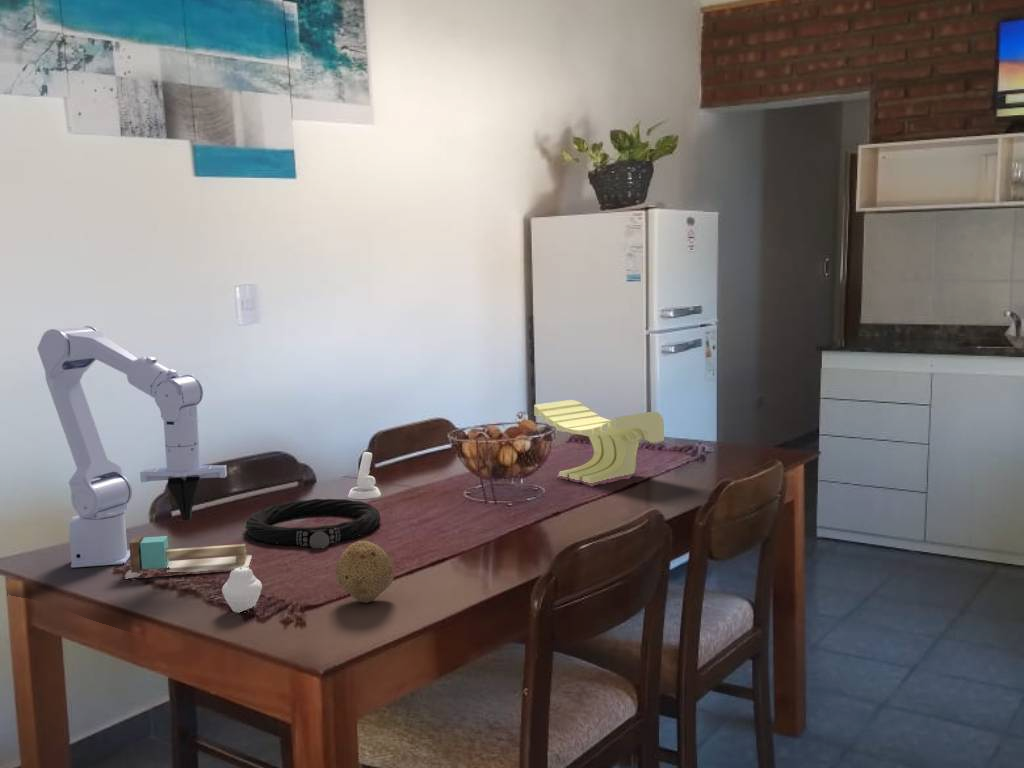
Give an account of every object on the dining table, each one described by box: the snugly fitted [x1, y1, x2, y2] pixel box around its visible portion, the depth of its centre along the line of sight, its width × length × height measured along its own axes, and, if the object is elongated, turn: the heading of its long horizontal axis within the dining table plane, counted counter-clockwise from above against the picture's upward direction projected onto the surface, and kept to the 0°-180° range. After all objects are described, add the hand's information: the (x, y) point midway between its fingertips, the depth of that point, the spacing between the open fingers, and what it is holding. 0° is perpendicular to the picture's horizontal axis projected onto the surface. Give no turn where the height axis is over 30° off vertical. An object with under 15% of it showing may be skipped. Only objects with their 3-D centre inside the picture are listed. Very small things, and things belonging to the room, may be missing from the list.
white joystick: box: [347, 451, 382, 500], centre depth 231 cm, size 8×12×7 cm
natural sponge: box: [335, 540, 394, 604], centre depth 156 cm, size 9×9×10 cm
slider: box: [140, 535, 170, 569], centre depth 174 cm, size 4×4×5 cm
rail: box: [124, 536, 253, 579], centre depth 175 cm, size 21×7×6 cm, turn 100°
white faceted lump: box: [221, 567, 263, 614], centre depth 153 cm, size 6×6×7 cm
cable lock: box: [244, 498, 381, 549], centre depth 200 cm, size 28×4×30 cm
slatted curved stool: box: [533, 399, 665, 483], centre depth 242 cm, size 30×16×18 cm, turn 38°
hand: (186, 518), depth 174 cm, fingers closed
